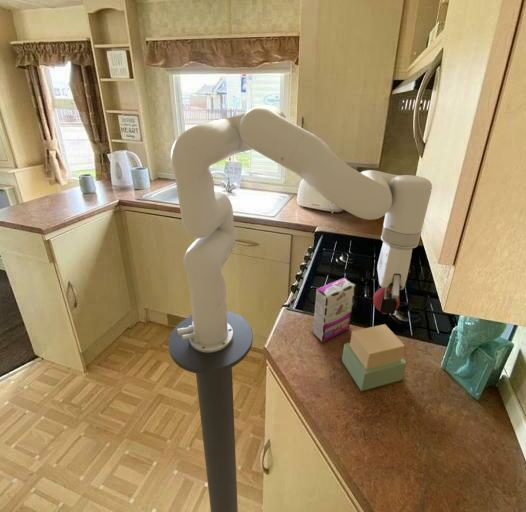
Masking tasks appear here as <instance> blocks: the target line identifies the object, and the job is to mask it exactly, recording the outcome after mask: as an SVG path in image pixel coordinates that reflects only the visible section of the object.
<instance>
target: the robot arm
mask: <svg viewBox="0 0 526 512" xmlns="http://www.w3.org/2000/svg"><path fill="white" fill-rule="evenodd" d="M252 150H253V151H255V152H257V153H258V154H260V155H262V156H263V157H266V158H267V159H269V160H271V161H272V162H273V161H274V162H275V163H276V164H278V165H280V166H282V167H284V168H285V169H286V170H289V171H290V172H292V173H294V174H296V175H297V176H299V177H300V178H301V179H302V180H303V181H304V182H305V183H306V184H307V185H309V186H310V187H311V188H312V189H314V191H316V192H317V193H318V194H319V195H321V196H322V197H323V198H324V199H326V200H327V201H329V202H330V203H332V204H333V205H335V206H337V207H338V208H341V209H342V210H344V211H346V212H347V213H349V214H351V215H353V216H355V217H357V218H360V219H364V220H367V221H368V220H369V221H371V220H372V221H373V220H377V219H380V218H382V217H384V220H383V226H382V231H381V234H380V235H381V236H380V240H381V241H382V246H381V248H380V253H379V257H378V261H377V267H376V271H377V277H378V287H377V291H378V290H379V289H380V288H383V287H384V288H385V293H384V297H382V301H381V306H380V311H379V312H380V313H381V314H383V313H388V314H387V315H395V313H396V311H397V310H396V306H397V302H398V298H399V299H400V291H402V290H404V289H405V287H406V283H407V280H408V276H409V274H408V273H409V269H410V265H411V259H412V253H413V249H415V248H417V247H418V246H419V242H420V240H421V235H422V231H423V227H424V223H425V219H426V215H427V212H428V211H427V210H428V206H429V203H430V200H431V199H430V198H431V195H432V191H433V183H432V182H431V180H429V179H427V178H425V177H423V176H418V175H414V174H413V175H412V174H402V175H401V174H399V175H398V174H393V173H388V172H384V171H380V170H376V169H367V170H363V171H361V172H360V171H358V170H357V169H354V168H353V167H352V166H350V165H349V164H348V163H346V162H344V161H343V160H342V159H340V158H339V157H338V156H337V155H336V154H335V153H334V152H333V150H332V149H331V148H330V146H329V145H328V144H327V143H326V142H325V141H324V140H323V139H322V138H320V137H319V136H317V135H315V134H314V133H312V132H311V131H308V130H306V129H304V128H303V127H302V126H299V125H298V124H296V123H294V122H292V121H291V120H289V119H287V118H286V115H285V114H284V112H283V111H282V110H281V109H280V108H278V107H276V106H274V105H268V104H267V105H259V106H255V107H252V108H250V109H249V110H248V111H247V112H243V113H239V114H236V115H233V116H229V117H226V118H222V119H218V120H213V121H208V122H204V123H200V124H197V125H195V126H192V127H190V128H188V129H186V130H184V132H182V133H180V135H179V136H178V137H177V138H176V139H175V141H174V143H173V145H172V148H171V152H170V162H171V167H172V171H173V175H174V180H175V185H176V192H177V193H176V194H177V199H178V204H179V210H180V218H181V222H182V223H181V224H182V227H183V229H184V231H185V233H186V234H187V235H188V236H190V237H191V238H195V240H194V241H193V242H192V243H191V245H189V247H188V248H187V250H186V251H185V253H184V255H183V260H182V261H183V262H182V263H183V264H182V265H183V268H184V272H185V275H186V276H187V281H188V286H189V296H190V303H191V316H192V315H193V321H192V325H191V326H189V327H187V328H180V329H177V330H178V336H180V335H182V338H183V340H186V339H189V340H190V344H191V346H192V347H193V348H194V349H196V350H198V351H200V352H206V353H210V352H216V351H219V350H222V349H224V348H225V347H226V346H228V345H229V344H230V342H231V341H232V338H233V329H232V327H231V326H230V325H229V324H228V323H227V311H228V307H227V289H226V287H227V286H226V280H225V277H224V275H223V267H224V264H225V263H226V262H227V260H228V259H229V258H230V256H231V255H232V253H233V252H234V249H235V247H236V231H235V229H236V228H235V219H234V210H233V204H232V202H231V200H230V198H229V197H228V195H227V194H226V193H225V192H224V191H222V190H220V189H217V188H215V181H214V178H213V175H212V172H211V170H210V167H211V166H212V165H214V164H217V163H219V162H222V161H224V160H226V159H228V158H229V157H231V156H234V155H238V154H240V153H245V152H248V151H252ZM431 190H432V191H431ZM388 289H392V292H391V293H389V294H388ZM395 310H396V311H395ZM188 333H190V334H188ZM184 334H186V335H184Z"/></svg>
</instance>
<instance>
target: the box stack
mask: <svg viewBox="0 0 526 512" xmlns="http://www.w3.org/2000/svg"><path fill="white" fill-rule="evenodd" d="M349 341H350V342H346V343H344V344H343V350H342V351H343V352H342V356H341V362H342V363H343V365H344V367H345V368H346V369H347V371H348V372H349V374H350V377H352V379H353V381H354V382H355V384H356V385H357V387H358V388H359V390H360V391H361V392H363V391H367V390H370V389H374V388H377V387H382V386H385V385H388V384H389V385H390V384H393V383H396V382H399V381H403V378H404V375H405V370H406V367H407V364H408V362H407V361H406V360H405V359H404V358H403V354H404V350H405V348H406V347H405V346H406V345H405V344H404V343H403V342H402V340H400V338H398V336H397V335H396V334H395V333H394V332H393V331H392V330H391V329H390V327H388V326H387V324H386V323H384V324H379V325H375V326H370V327H365V328H361V329H356V330H352V331H351V335H350V340H349Z"/></svg>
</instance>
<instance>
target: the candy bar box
mask: <svg viewBox="0 0 526 512" xmlns="http://www.w3.org/2000/svg"><path fill="white" fill-rule="evenodd" d="M355 291H356V284H355V283H353V282H351V281H350V280H348V279H347V278H345V277H342V278H340V279H338V280H335V281H333V282H330V283H328V284H326V285H323V286H320V287H318V288H316V290H315V292H316V293H315V301H314V313H313V314H314V315H313V325H312V334H313V335H314V336H315V337H317V338H318V339H319V341H320V342H321V343H325V342H326V341H328V340H330V339H332V338H333V337H335V336H337V335H340V334H342V333H343V332H346V331H348V330H349V329H350V324H351V318H352V311H353V303H354V297H355Z"/></svg>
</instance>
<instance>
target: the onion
mask: <svg viewBox="0 0 526 512" xmlns="http://www.w3.org/2000/svg"><path fill="white" fill-rule="evenodd" d="M391 292H392V289H388V294H389V293H391ZM384 293H385V288H384V287H383V288H380V289H379V290H378V289H377V290H376V291H375V292H374V294H373V296H372V298H373V299H372V300H373V301H372V302H373V305H374V307H375V308H376V310H377V311H379V312H380V306H381V301H382V297H384ZM399 307H400V297H399V298H398V302H397V306H396V310H395V312H396V311H397V310H398V309H399ZM382 315H389V314H388V313H382Z"/></svg>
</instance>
